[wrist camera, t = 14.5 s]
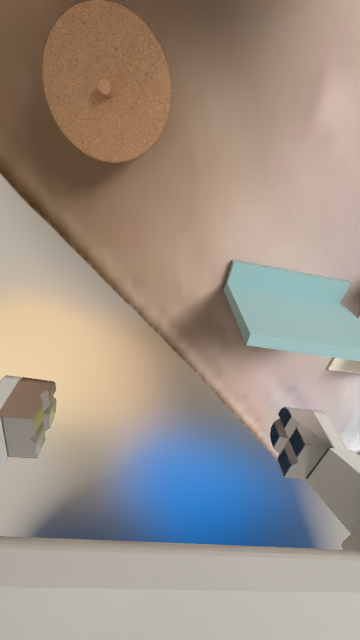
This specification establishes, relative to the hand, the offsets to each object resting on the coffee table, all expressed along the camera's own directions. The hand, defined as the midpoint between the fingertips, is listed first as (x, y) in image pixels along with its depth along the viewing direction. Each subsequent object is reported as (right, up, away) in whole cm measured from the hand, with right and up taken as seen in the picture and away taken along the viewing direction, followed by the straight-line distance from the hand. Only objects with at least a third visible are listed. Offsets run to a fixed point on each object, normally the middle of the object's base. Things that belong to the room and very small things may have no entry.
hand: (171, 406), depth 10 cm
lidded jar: (-6, +26, +20) cm, 34 cm away
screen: (+16, +8, +32) cm, 37 cm away
